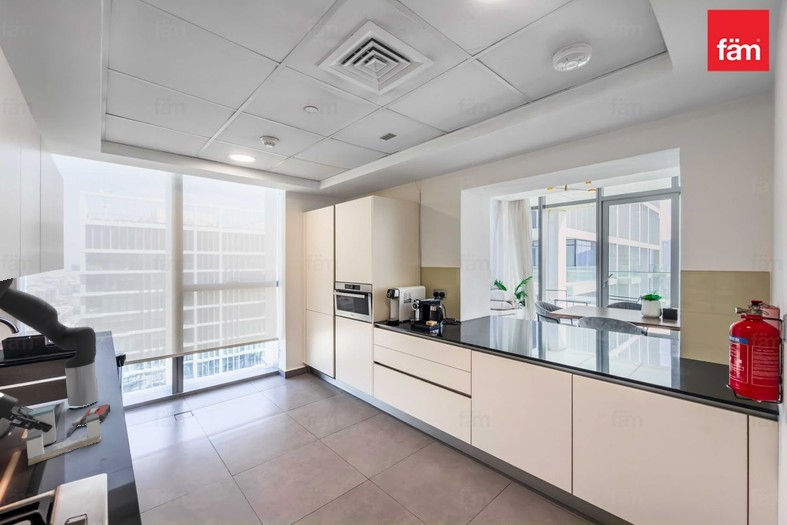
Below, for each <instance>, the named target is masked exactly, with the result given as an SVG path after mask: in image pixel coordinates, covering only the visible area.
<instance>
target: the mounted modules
mask: <svg viewBox="0 0 787 525" xmlns="http://www.w3.org/2000/svg"><path fill="white" fill-rule="evenodd" d="M86 422H87V425H86V430H87V432H86V434H88V439H89V438H92V437H95V436H99V435H100V436H101V434H102V433H101V424H100V423H101V422H99V415H98V413H97V414H93V415H90V416H86ZM25 438H26V439H25V440H26V441H25V442H26V450H27V459H28V460H29V458H32V457H35V456H38V455H41V454H43V450H44V448H45V445H44V446H43V435H42V430H38V431H35V432H32V433H28V434H27V435H26V437H25Z"/></svg>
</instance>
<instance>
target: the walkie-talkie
mask: <svg viewBox="0 0 787 525" xmlns="http://www.w3.org/2000/svg"><path fill="white" fill-rule="evenodd" d="M97 413H98V415H99V421H102V422H104V421H105V420H104V419H106V418H107V417H106V416H108V415H109V414H108V413H111V405H110V404H109V403H106V404H103V405H101V404H100V405H97V406H93V407H92V408H89V409H88V410H87V411H86V413H85V414H84V415H82V416H80V417H78V418H76V419H75V420H74V421H73V422H72V424H71V426H73V427H71V428H70V429H69V430H68V431H67V433H66V435H67V436H70V435H71V434H72V433H73V432H74V431H75V429H77V428H78V427H77V426H78V425H81V426H82V425H85V424H87V422H86V416H90V415H93V414H97ZM103 420H104V421H103ZM81 426H80V427H81Z"/></svg>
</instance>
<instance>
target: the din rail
mask: <svg viewBox="0 0 787 525" xmlns="http://www.w3.org/2000/svg"><path fill="white" fill-rule="evenodd" d="M100 436H101V435H99V436H95V437H92V438H89V439H88V434H87V433H86V434H84V435H80V436H75V438H70V439H67V440H64V441H61V442H58V443H56V444H51V445H49V446H46V447H45V446H44V450H43V454H41V455H38V456H35V457H32V458H29V459H28V460H29V461H32V460H35V459H38V458H41V457H44V456H47V455H50V454H53V453H56V452H59V451H62V450H65V449H68V448H71V447H74V446H77V445H80V444H83V443H86V442H89V441H92V440H95V439H98V438H100Z"/></svg>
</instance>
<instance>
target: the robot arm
mask: <svg viewBox="0 0 787 525" xmlns="http://www.w3.org/2000/svg"><path fill="white" fill-rule="evenodd" d="M13 281H14V278H11V279H7V280H3V281H0V310H1V311H3V312H5V313H7V314H8V315H9V316H11V317H12V318H14V319H16V320H18V321H19V322H21V323H22V324H23V325H25V326H28V327H30V328H31V329H33V330H34V331H36V332H37V333H39V334H41V335H42V336H44V337H45V338H46V339H48V340H49V341H51V342H52V343H53V344H54V345H55V346H56V347H57V348H59V349H62V350H63V351H73V350H76V351H75V355H74V356H73V357H71V358H68V359H67V360H65V361H64V371H65V384H66V393H67V395H66V396H67V406H68V405H69V406H83V405H87V404H91V403H93V402H95V401H97V400H98V401H99V399H98V397H99V385H98V377H97V372H96V361H95V360H96V355H97V336H96V332H95V330H94V329H93V328H92V327H91V326H81V327H80V326H79V327H68V326H66V325H64V324H63V323H61V322H60V321H59V314H58V312H57V310H56V308H55V307H54V306H53V305H52V304H50V303H49V302H47V301H46V300H44V299H42V298H40V297H39V296H36V295H33V294H31V293H29V292H25V291H23V290H20V289H16V288H13V287H11V285H12V284H13ZM18 403H19V398H17V397H14V396H12V395H9V394H6V393H3V392H1V391H0V420H2V419H5V420H7V422H8V423H9V425H10V426H13V427H16V428H20V429H24V430H27V429H28V430H31V429H37V430H42V431H43V432H45V433H46V432H48V431H49V430H50V429H51V428H52V425H50V424H47V423H45V422H42V421H40V420H38V419H35V418H34V416H32V415H31V414H29V412H32V411H34V410H35V409H32V408H30V407H27V406H25V405H24V404H22V405H20V406H16V405H17V404H18ZM27 416H28V417H29V419H27ZM29 422H31V424H30V425H29V424H28V423H29Z"/></svg>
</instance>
